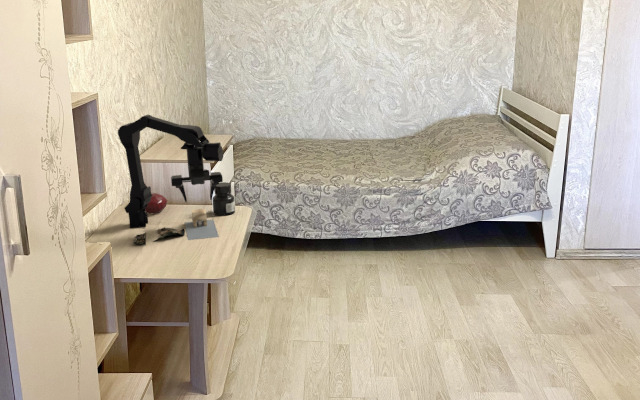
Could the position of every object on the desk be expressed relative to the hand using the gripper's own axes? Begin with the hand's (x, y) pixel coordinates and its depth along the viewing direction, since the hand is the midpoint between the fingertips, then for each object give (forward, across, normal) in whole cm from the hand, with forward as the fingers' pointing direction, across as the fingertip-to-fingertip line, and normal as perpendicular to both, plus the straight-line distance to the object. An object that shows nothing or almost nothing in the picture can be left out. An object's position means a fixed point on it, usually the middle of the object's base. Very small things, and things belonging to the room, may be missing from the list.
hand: (198, 200), depth 248 cm
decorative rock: (+11, -16, -8) cm, 21 cm away
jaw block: (+9, 0, 0) cm, 9 cm away
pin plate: (+11, 0, -6) cm, 12 cm away
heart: (+11, -16, +27) cm, 33 cm away
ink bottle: (+11, +11, +17) cm, 23 cm away
